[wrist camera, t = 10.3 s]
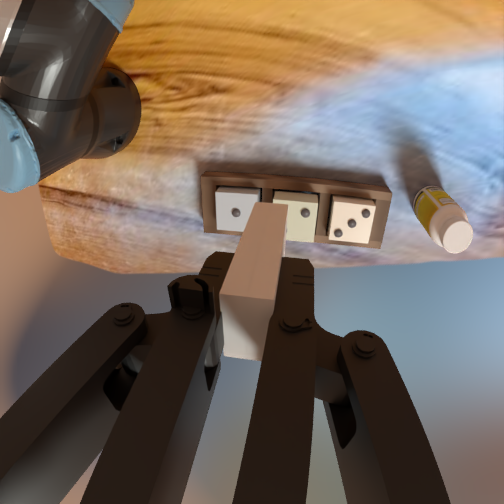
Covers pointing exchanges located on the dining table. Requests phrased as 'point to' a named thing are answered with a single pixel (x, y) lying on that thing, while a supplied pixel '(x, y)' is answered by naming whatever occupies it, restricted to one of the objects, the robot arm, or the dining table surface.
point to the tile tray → (323, 186)
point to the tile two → (299, 214)
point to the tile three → (350, 218)
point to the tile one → (235, 206)
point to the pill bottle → (443, 219)
